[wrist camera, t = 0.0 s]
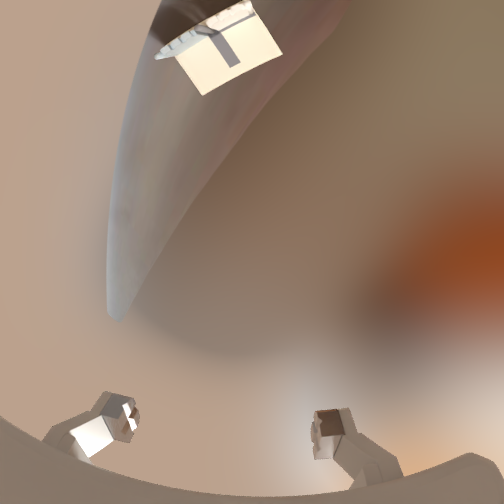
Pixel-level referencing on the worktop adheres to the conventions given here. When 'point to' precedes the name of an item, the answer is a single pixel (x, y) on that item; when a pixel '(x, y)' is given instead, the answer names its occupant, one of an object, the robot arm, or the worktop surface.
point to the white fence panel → (226, 18)
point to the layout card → (228, 52)
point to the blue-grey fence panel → (181, 44)
